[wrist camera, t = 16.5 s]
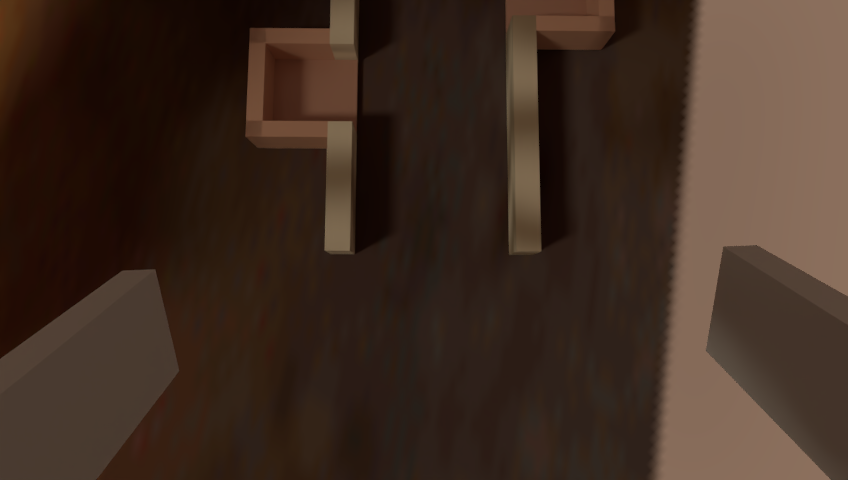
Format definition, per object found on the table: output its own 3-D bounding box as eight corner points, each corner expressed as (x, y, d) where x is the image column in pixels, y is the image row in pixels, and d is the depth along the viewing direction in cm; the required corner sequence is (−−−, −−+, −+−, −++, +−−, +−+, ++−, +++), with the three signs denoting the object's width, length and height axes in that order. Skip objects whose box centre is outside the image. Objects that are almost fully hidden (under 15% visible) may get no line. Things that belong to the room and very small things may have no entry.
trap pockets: (604, 150, 34) (619, 138, 32) (257, 148, 34) (245, 136, 31) (597, -46, 36) (611, -72, 33) (265, -50, 35) (254, -76, 33)
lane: (532, 254, 33) (545, 250, 30) (331, 254, 33) (321, 249, 30) (523, -178, 37) (534, -227, 33) (341, -180, 37) (333, -230, 33)
